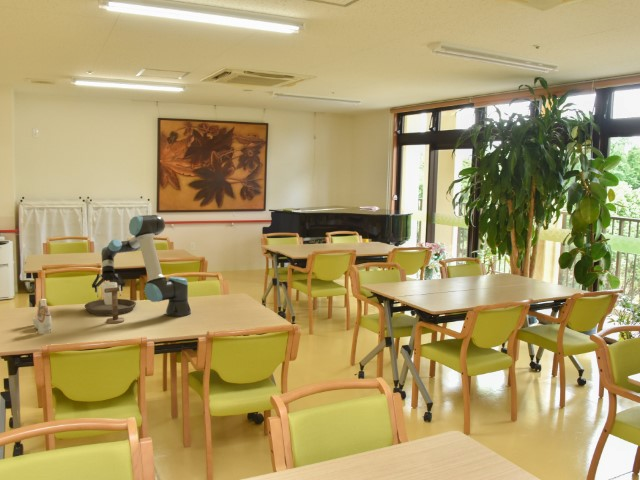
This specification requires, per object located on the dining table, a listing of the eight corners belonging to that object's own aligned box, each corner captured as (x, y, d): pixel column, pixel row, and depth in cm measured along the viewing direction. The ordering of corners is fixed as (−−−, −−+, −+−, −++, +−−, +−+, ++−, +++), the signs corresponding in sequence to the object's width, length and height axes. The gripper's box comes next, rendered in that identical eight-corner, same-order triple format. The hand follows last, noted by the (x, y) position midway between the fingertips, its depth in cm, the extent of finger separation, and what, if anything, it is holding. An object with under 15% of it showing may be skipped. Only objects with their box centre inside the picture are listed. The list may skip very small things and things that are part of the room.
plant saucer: (128, 302, 396) (128, 296, 395) (142, 312, 371) (142, 305, 370) (80, 308, 379) (79, 301, 378) (91, 319, 353) (90, 311, 353)
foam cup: (103, 305, 368) (102, 285, 366) (100, 302, 376) (100, 282, 374) (119, 304, 372) (118, 284, 371) (116, 301, 380) (115, 281, 379)
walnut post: (126, 321, 347) (126, 288, 345) (109, 324, 341) (108, 290, 338) (120, 318, 355) (119, 285, 352) (103, 320, 348) (102, 287, 346)
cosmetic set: (31, 324, 339) (29, 292, 337) (48, 322, 344) (47, 290, 342) (36, 335, 318) (34, 301, 316) (54, 333, 323) (53, 299, 321)
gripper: (127, 270, 393) (129, 297, 381) (87, 272, 384) (88, 299, 373) (128, 264, 388) (129, 291, 376) (87, 265, 379) (87, 293, 367)
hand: (109, 295), depth 374 cm, fingers open, 13 cm apart
